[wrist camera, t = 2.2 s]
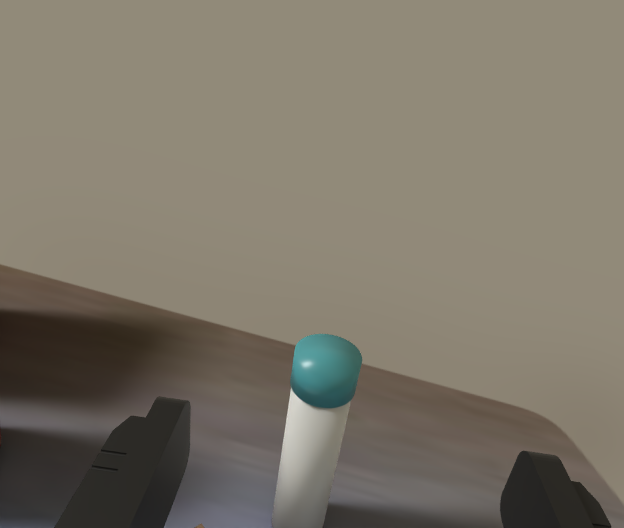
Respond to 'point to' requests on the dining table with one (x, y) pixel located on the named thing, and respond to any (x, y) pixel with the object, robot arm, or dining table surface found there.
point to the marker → (314, 428)
